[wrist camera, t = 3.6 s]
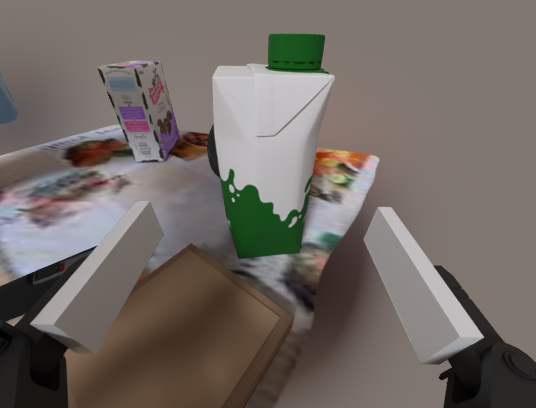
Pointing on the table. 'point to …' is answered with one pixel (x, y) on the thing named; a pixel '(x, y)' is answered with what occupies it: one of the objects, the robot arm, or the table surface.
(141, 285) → the board
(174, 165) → the table surface
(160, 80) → the candy box
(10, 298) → the electric trimmer
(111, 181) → the table surface
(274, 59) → the milk carton
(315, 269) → the table surface
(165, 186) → the table surface
